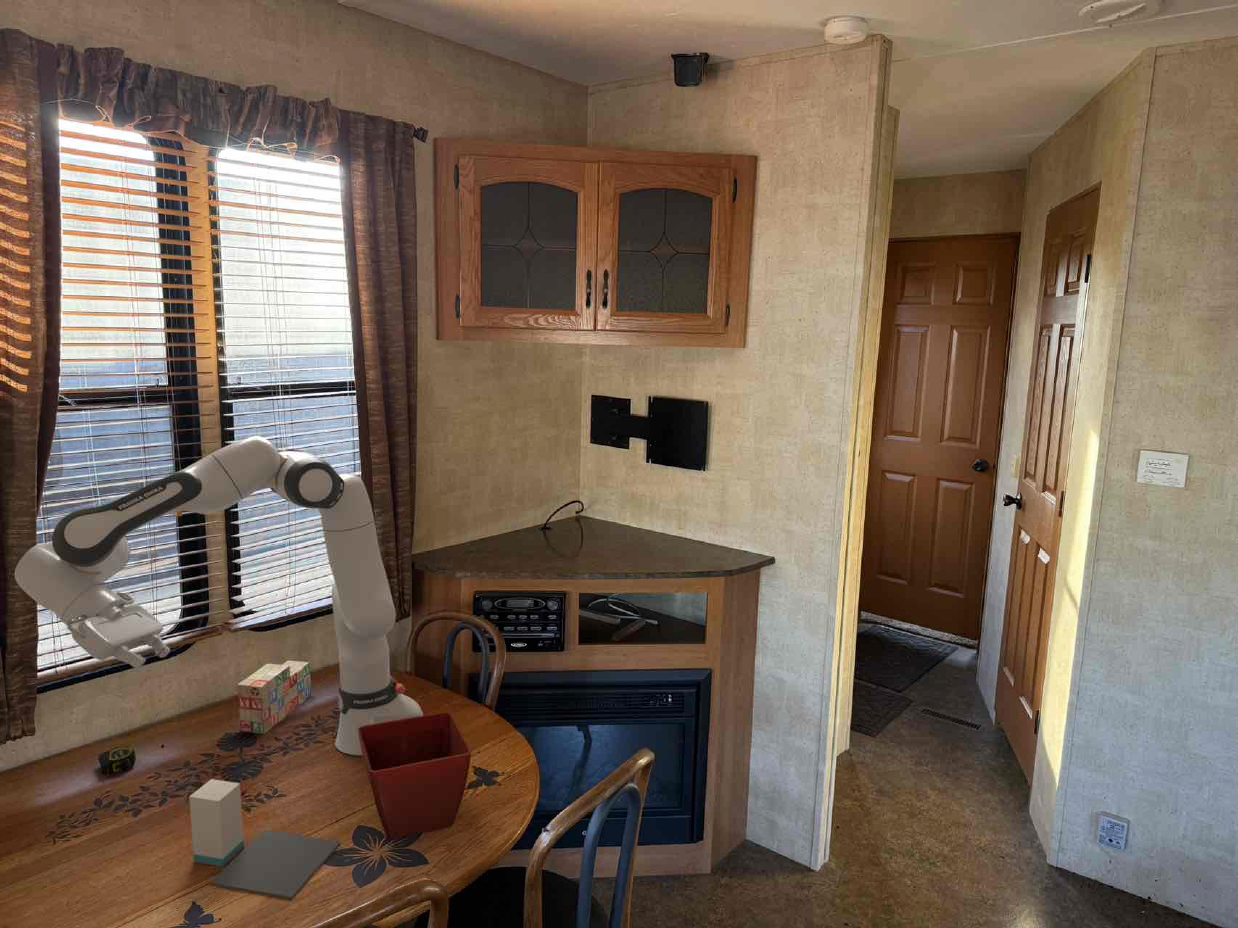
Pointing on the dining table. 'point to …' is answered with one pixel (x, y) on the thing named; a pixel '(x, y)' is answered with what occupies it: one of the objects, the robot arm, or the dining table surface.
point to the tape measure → (117, 760)
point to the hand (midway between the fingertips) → (154, 659)
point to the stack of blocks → (272, 695)
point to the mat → (276, 864)
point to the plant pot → (416, 772)
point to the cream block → (216, 822)
